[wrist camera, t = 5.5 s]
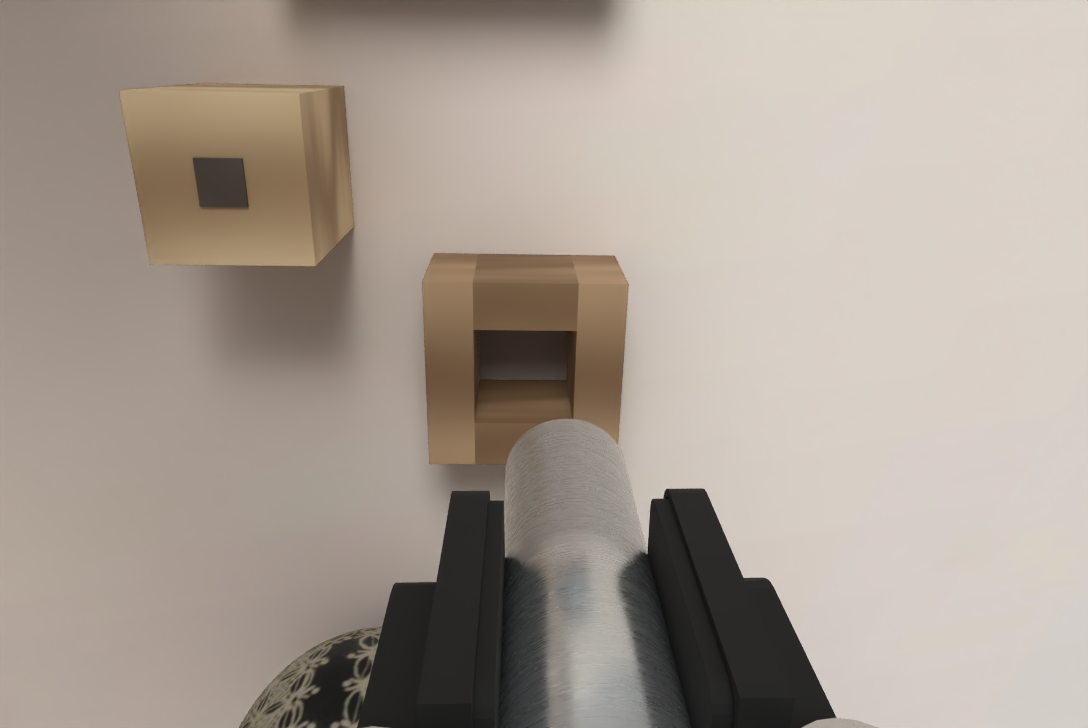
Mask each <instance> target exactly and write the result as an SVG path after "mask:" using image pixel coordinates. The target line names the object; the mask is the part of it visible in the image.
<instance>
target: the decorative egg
mask: <svg viewBox="0 0 1088 728" xmlns="http://www.w3.org/2000/svg"><path fill="white" fill-rule="evenodd" d="M381 630H382V627H379V628H367V629H361V630H357V631H353V632H348V633H345V634H342V635H340V636H337V637H335V638H333V639H330V640H328V641H325V642H323V643H321V644H319V645H318V646H316V647H314V648H312V649H311V650H309V651H307V652H306V653H304V654H303V655H302V656H300V657H299V658H297V659H296V660H295V661H293V662H292V663H291V664H290V665H289V666H287V667H286V668H285V669H284V670H283V671H282V672H281V673H280V674H279V675H278V676H277V677H276V678H275V679H274V680H273V681H272V682H271V683H270V684H269V685H268V686H267V688H266V689H265V690H264V691H263V693H262V694H261V695H260V696H259V698H258V699H257V700H256V701H255V703H254V704H253V706H252V707H251V709H250V711H249V712H248V714H247V715H246V717H245V718H244V720H243V722H242V723H241V725H240V727H239V728H357V726H358V722H359V718H360V714H361V710H362V706H363V702H364V698H365V694H366V690H367V686H368V682H369V678H370V674H371V670H372V666H373V662H374V658H375V654H376V650H377V646H378V642H379V638H380V634H381Z"/></svg>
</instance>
